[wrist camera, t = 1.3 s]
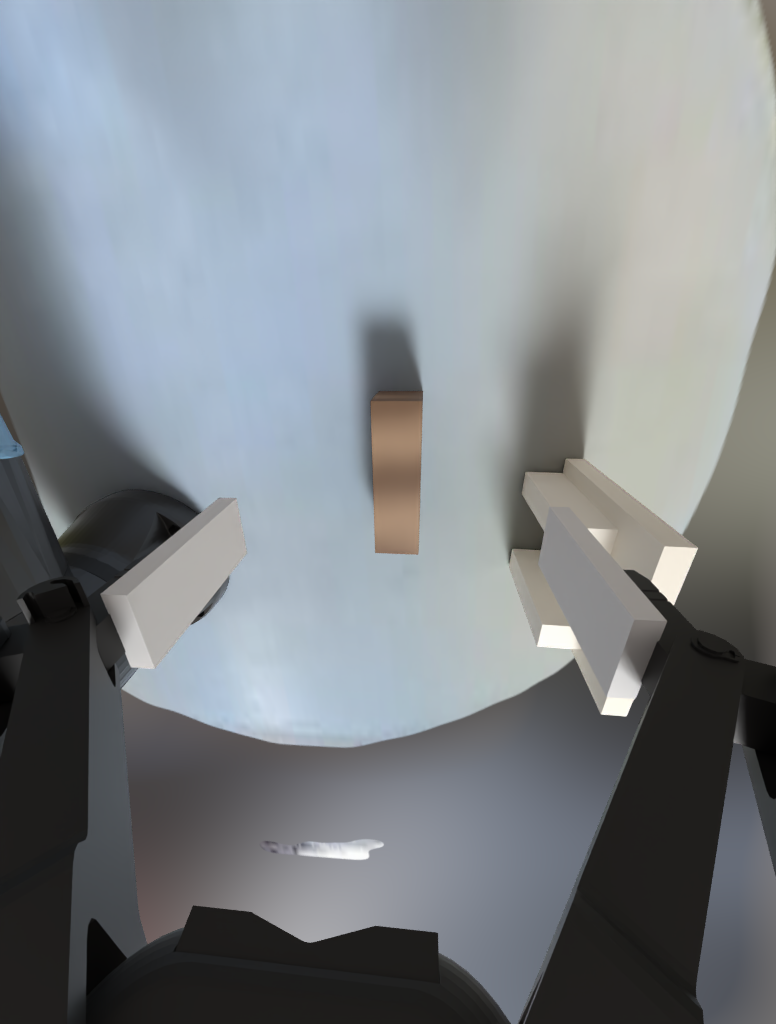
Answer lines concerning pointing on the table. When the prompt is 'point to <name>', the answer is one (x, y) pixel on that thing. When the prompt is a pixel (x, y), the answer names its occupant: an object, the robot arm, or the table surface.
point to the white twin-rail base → (624, 536)
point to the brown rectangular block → (396, 470)
